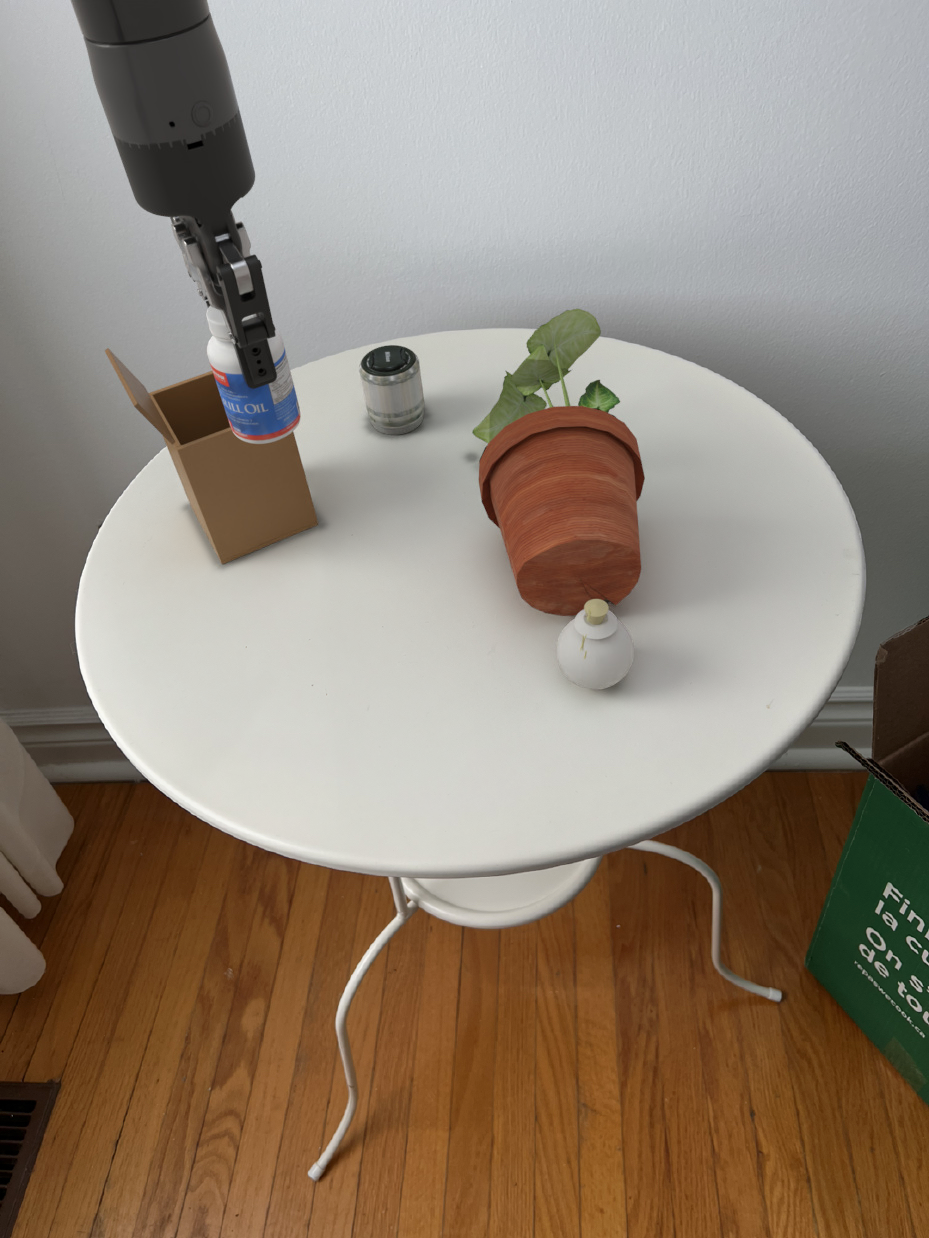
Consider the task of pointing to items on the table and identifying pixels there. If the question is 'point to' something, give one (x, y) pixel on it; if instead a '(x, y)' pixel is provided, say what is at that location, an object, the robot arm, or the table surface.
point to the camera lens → (392, 389)
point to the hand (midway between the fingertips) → (248, 362)
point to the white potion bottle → (595, 647)
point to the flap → (139, 396)
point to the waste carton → (233, 472)
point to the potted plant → (562, 478)
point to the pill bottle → (248, 409)
